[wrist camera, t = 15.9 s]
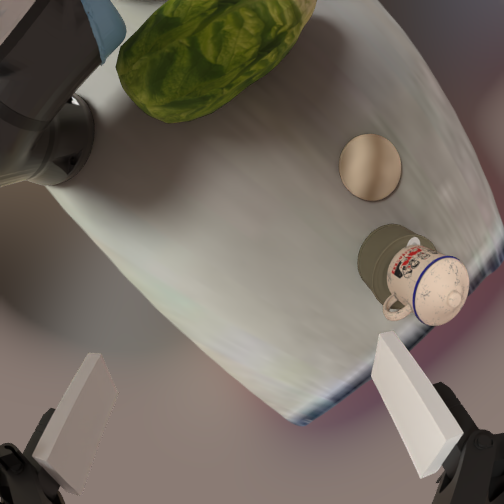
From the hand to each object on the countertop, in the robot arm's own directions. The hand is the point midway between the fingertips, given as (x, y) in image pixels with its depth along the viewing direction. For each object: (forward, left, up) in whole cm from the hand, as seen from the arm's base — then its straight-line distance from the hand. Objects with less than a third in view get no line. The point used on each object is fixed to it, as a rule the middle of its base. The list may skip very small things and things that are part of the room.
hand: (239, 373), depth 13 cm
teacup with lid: (+23, -9, -26) cm, 36 cm away
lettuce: (0, +24, -33) cm, 41 cm away
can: (+24, -9, -33) cm, 42 cm away
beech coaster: (+20, +6, -33) cm, 39 cm away
